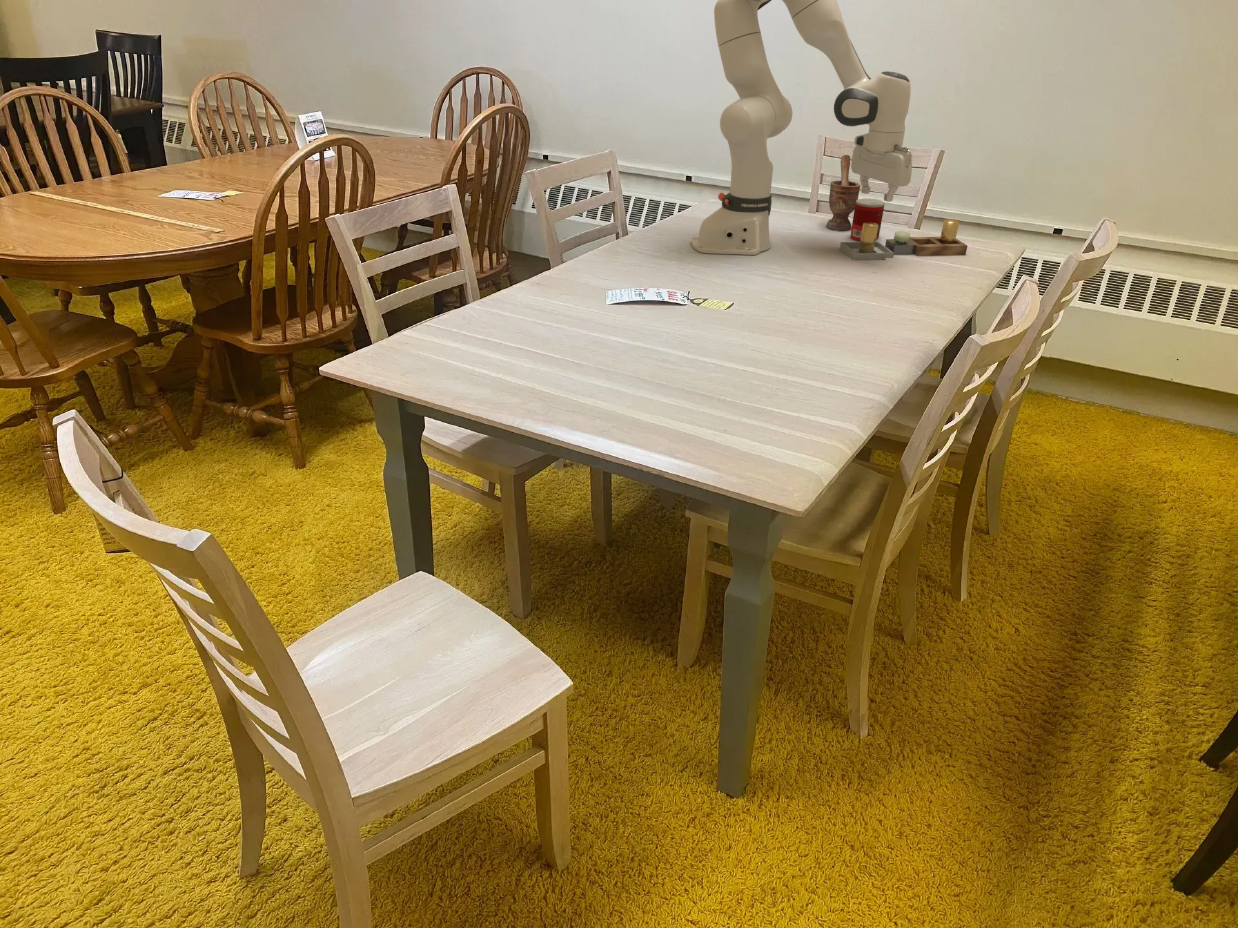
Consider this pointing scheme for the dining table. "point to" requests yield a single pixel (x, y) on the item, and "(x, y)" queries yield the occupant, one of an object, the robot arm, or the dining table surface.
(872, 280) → the dining table surface
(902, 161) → the robot arm
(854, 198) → the mortar and pestle
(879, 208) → the canned food
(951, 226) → the billet seated
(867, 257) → the grey square tray
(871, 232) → the billet
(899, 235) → the button
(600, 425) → the dining table surface
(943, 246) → the wooden compartment tray
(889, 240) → the button housing
